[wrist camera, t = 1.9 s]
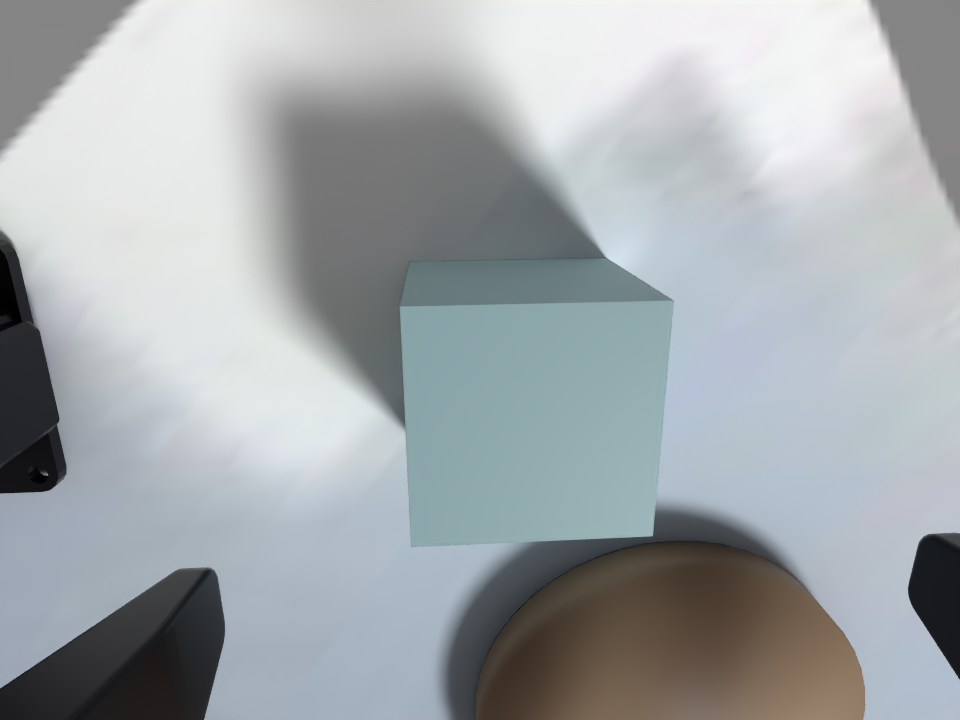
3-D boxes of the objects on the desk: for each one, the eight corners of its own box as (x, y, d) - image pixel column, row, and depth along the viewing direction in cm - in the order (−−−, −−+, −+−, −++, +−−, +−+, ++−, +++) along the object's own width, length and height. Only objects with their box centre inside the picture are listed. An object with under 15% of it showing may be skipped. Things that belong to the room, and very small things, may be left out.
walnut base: (476, 842, 23) (478, 889, 21) (473, 549, 19) (475, 582, 17) (806, 819, 23) (830, 862, 22) (866, 532, 20) (900, 562, 18)
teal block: (417, 441, 18) (411, 547, 13) (409, 260, 16) (399, 306, 11) (595, 434, 18) (652, 536, 13) (605, 256, 17) (673, 300, 12)
